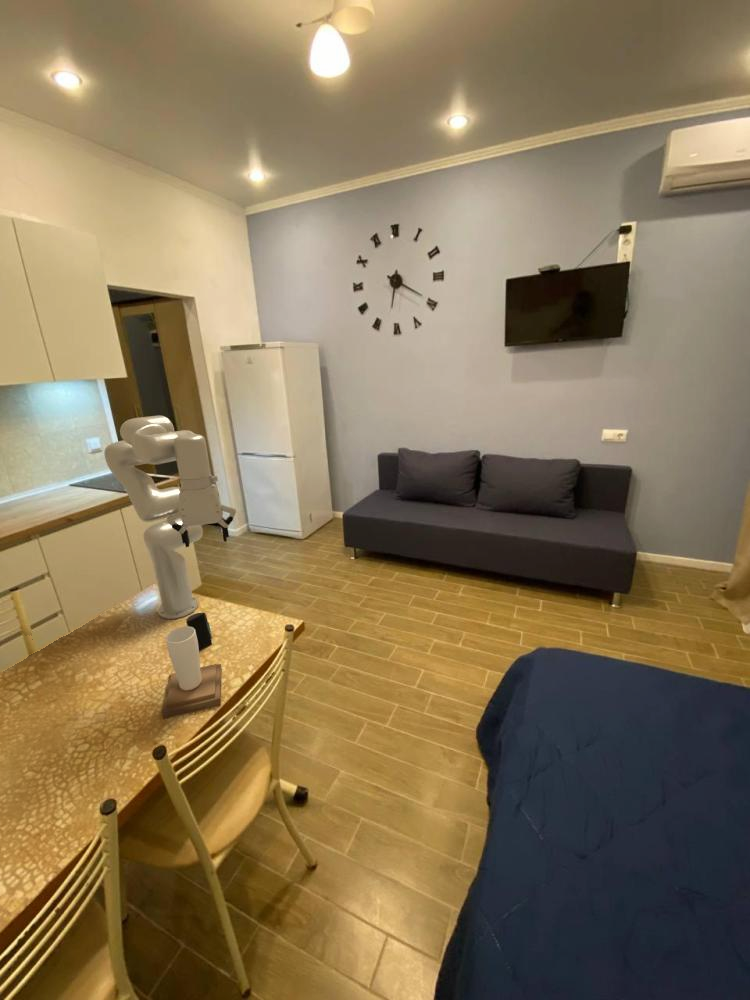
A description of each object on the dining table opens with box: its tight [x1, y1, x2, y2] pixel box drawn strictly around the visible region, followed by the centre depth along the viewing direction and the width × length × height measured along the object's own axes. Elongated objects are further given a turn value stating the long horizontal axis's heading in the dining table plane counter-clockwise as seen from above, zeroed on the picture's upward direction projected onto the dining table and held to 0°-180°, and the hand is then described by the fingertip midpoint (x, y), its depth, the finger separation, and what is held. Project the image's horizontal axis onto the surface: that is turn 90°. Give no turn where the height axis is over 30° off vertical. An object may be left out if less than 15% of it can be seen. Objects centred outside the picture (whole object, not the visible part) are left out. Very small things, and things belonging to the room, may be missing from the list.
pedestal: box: [161, 663, 223, 720], centre depth 107 cm, size 13×13×3 cm
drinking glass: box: [165, 625, 202, 690], centre depth 104 cm, size 7×7×15 cm
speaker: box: [185, 612, 213, 652], centre depth 125 cm, size 8×6×10 cm
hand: (206, 542), depth 115 cm, fingers open, 9 cm apart
